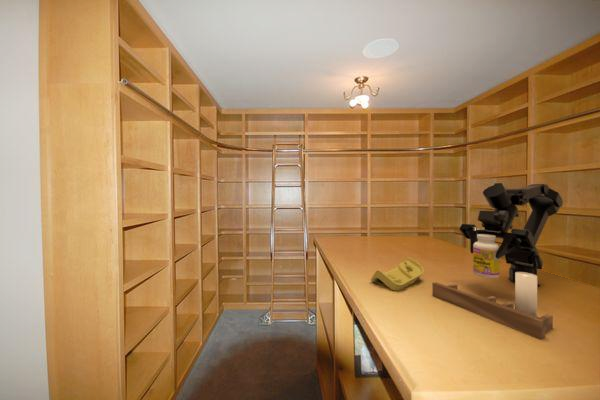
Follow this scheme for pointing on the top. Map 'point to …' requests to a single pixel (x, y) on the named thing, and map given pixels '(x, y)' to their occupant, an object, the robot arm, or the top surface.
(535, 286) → the white pillar candle
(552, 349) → the top surface
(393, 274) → the plastic component
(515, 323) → the walnut holder rail
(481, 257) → the supplement bottle
